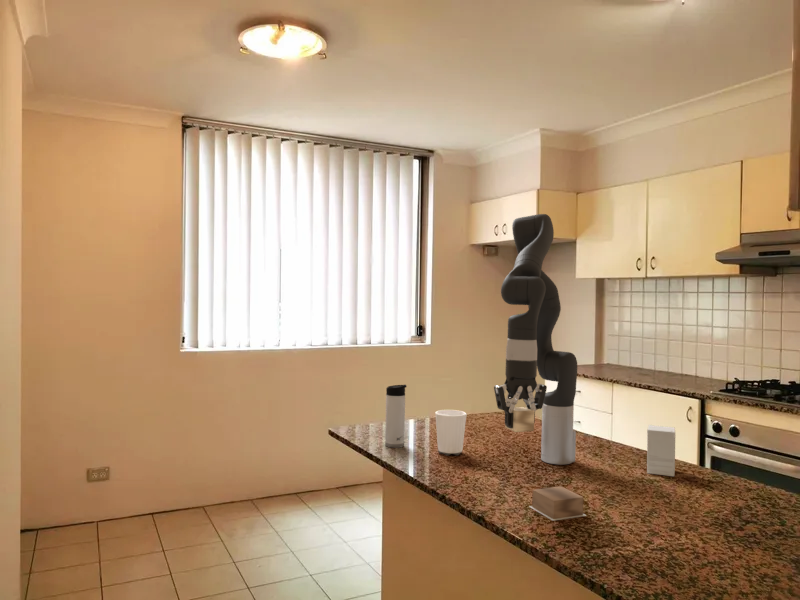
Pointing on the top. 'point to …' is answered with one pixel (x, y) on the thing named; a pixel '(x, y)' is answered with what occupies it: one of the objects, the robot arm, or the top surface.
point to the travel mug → (395, 416)
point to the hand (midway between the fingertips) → (519, 426)
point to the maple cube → (522, 420)
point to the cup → (450, 431)
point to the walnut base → (557, 502)
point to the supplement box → (661, 450)
